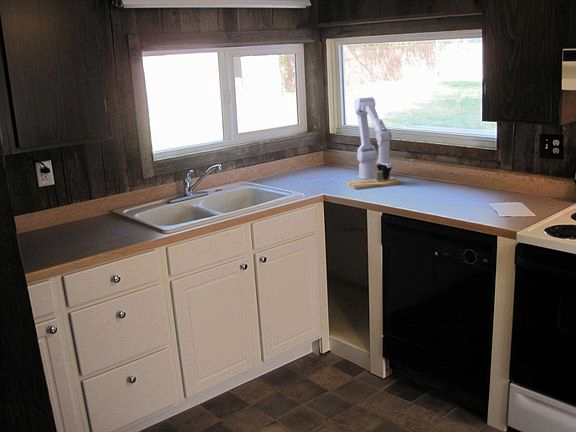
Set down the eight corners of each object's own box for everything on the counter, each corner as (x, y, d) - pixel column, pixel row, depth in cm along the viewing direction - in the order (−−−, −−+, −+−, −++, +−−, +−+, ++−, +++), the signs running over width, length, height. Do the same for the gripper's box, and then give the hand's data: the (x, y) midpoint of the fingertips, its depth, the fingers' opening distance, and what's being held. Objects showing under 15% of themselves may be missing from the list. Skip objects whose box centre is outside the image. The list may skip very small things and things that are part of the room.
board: (346, 184, 337) (346, 181, 336) (391, 179, 343) (391, 176, 342) (355, 189, 324) (355, 186, 323) (402, 184, 329) (402, 181, 329)
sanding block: (374, 180, 335) (374, 171, 333) (386, 179, 336) (386, 170, 335) (377, 181, 331) (377, 172, 330) (389, 180, 333) (389, 171, 331)
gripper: (371, 152, 336) (372, 177, 340) (382, 156, 322) (382, 182, 326) (384, 151, 338) (384, 175, 341) (394, 155, 324) (395, 180, 328)
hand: (384, 178), depth 334 cm, fingers closed on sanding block, 4 cm apart
